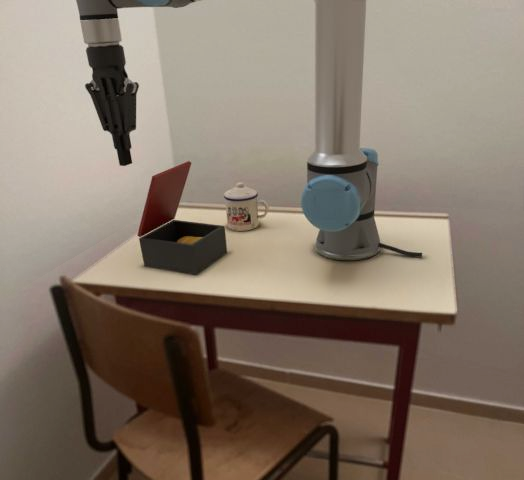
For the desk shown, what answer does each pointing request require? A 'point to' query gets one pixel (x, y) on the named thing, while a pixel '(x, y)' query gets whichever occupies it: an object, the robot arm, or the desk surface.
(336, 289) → the desk surface
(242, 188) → the teacup with lid
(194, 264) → the dark grey open box
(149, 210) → the red box lid
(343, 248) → the robot arm
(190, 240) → the bread roll
